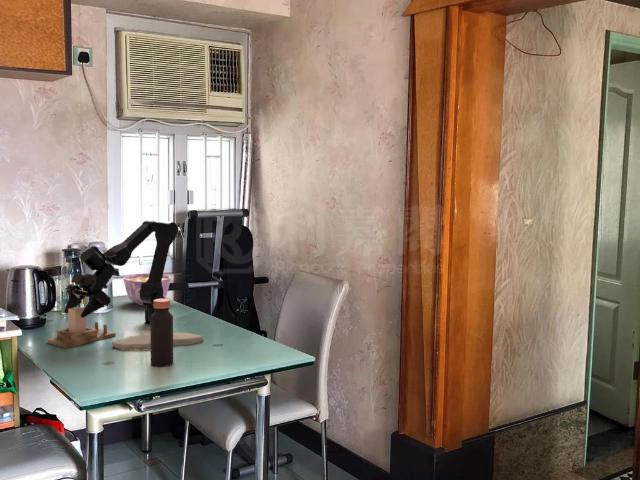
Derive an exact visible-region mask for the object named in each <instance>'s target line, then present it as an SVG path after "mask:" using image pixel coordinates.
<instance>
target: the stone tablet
mask: <svg viewBox="0 0 640 480" xmlns="http://www.w3.org/2000/svg"><path fill="white" fill-rule="evenodd" d="M203 341H204V337H203V335H199V334H196V333H195V334H193V333H191V332H176V331H175V332H174V331H173V347H175V346H186V345H194V344H196V343H197V344H199V343H202V342H203ZM111 344H112V346H113V347H114V348H116V349H118V350H120V351H130V350H129V349H149V350H151V334H150V333H148V334H139V335H132V336H127V337H124V338H123V337H122V338H120V339H117V340H114V341H112V343H111Z"/></svg>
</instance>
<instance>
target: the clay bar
mask: <svg viewBox="0 0 640 480" xmlns="http://www.w3.org/2000/svg"><path fill="white" fill-rule="evenodd" d="M84 309H85V308H84V307H81V306H76V307H75V308H69V309H68V313H67V315H68V316H67V317H68V320H67V322H68V328H69V332H70V333H73V334H75V333H80V332H84V331H86V327H87V323H86V321H87V319H86V317H87V316H85V317H83V318H82V317H81V314H82V312H83V310H84Z"/></svg>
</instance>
